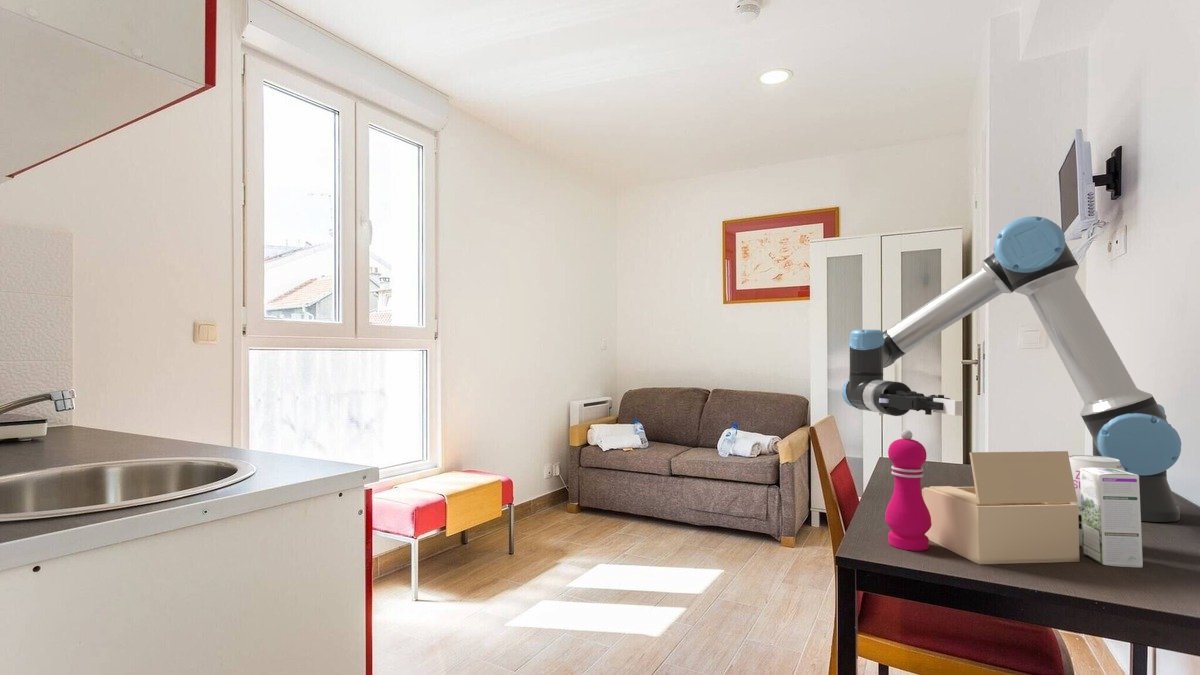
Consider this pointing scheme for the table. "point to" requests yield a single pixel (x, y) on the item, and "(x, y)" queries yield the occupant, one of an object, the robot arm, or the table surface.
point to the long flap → (1022, 477)
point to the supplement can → (1088, 462)
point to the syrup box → (1111, 516)
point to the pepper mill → (907, 496)
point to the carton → (1002, 528)
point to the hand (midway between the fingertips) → (958, 408)
